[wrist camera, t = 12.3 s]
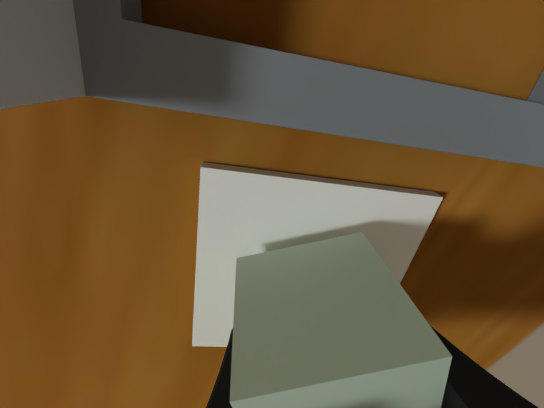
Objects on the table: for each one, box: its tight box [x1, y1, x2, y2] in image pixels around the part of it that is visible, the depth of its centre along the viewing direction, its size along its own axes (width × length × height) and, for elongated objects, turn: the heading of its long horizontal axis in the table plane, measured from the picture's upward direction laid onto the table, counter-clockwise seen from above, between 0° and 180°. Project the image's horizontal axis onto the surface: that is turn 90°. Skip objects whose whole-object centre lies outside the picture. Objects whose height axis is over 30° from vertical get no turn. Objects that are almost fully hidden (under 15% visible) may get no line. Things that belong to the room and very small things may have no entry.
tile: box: [192, 162, 443, 347], centre depth 13 cm, size 10×10×1 cm
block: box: [230, 232, 452, 408], centre depth 9 cm, size 5×5×5 cm
